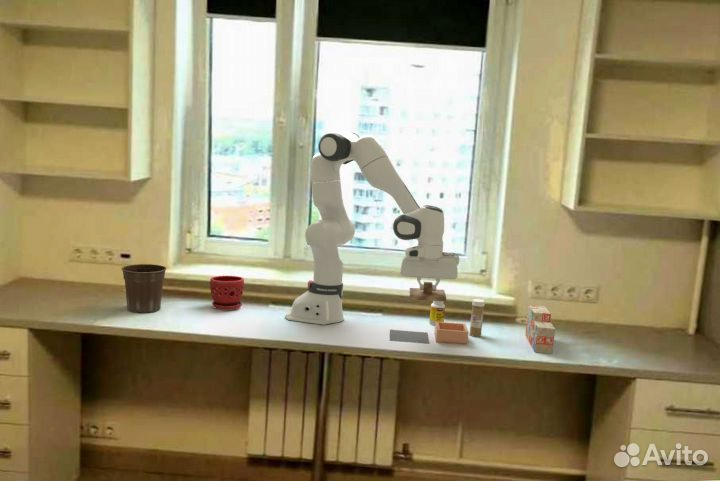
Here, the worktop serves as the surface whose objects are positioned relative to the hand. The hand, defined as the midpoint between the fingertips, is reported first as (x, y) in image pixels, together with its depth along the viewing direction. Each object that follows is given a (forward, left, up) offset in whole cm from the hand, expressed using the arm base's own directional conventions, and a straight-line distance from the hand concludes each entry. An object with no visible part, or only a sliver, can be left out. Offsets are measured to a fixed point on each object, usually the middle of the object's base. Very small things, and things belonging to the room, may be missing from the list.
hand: (427, 289), depth 252 cm
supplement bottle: (+6, +20, -18) cm, 28 cm away
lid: (0, 0, -2) cm, 2 cm away
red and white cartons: (+42, +5, -18) cm, 46 cm away
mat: (-5, 0, -18) cm, 19 cm away
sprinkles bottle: (+20, +10, -18) cm, 29 cm away
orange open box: (+10, +1, -18) cm, 20 cm away
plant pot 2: (-77, +22, -18) cm, 83 cm away
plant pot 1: (-106, +10, -18) cm, 108 cm away
